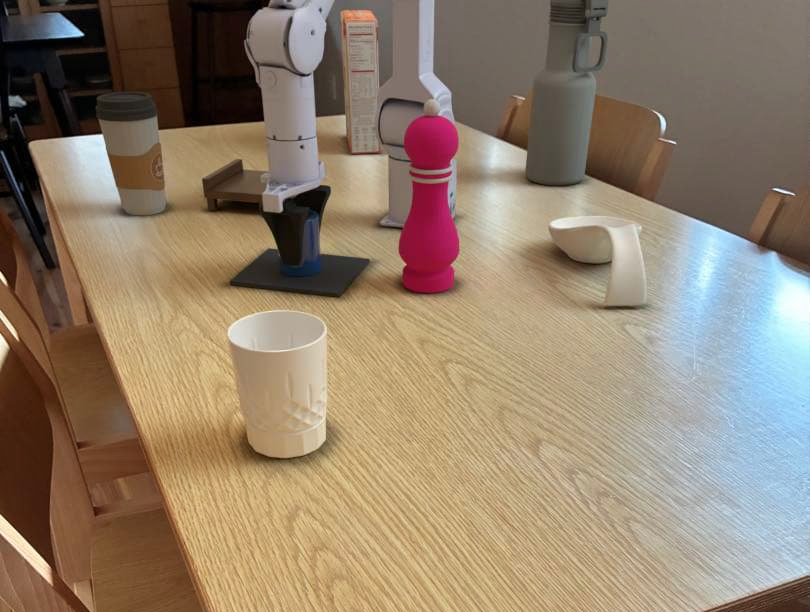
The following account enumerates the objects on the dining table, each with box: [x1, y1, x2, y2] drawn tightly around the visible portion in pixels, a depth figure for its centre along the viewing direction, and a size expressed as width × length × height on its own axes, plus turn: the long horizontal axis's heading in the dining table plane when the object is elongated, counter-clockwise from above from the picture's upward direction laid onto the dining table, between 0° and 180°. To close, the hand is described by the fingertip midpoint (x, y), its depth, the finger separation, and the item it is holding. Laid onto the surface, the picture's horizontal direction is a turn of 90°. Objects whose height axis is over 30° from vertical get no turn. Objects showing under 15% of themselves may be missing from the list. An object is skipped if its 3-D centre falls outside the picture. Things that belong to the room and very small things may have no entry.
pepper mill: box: [398, 99, 460, 294], centre depth 92 cm, size 7×7×20 cm
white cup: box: [226, 309, 329, 459], centre depth 67 cm, size 8×8×10 cm
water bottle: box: [524, 0, 609, 187], centre depth 126 cm, size 10×10×28 cm
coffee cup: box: [95, 91, 167, 216], centre depth 116 cm, size 8×8×15 cm
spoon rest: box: [547, 215, 647, 307], centre depth 99 cm, size 24×12×7 cm, turn 3°
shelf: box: [201, 158, 269, 212], centre depth 122 cm, size 12×12×4 cm
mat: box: [229, 248, 371, 298], centre depth 100 cm, size 14×12×1 cm
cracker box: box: [339, 9, 382, 155], centre depth 146 cm, size 14×6×21 cm, turn 6°
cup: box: [278, 210, 322, 277], centre depth 98 cm, size 5×5×7 cm
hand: (300, 256), depth 99 cm, fingers closed on cup, 5 cm apart
